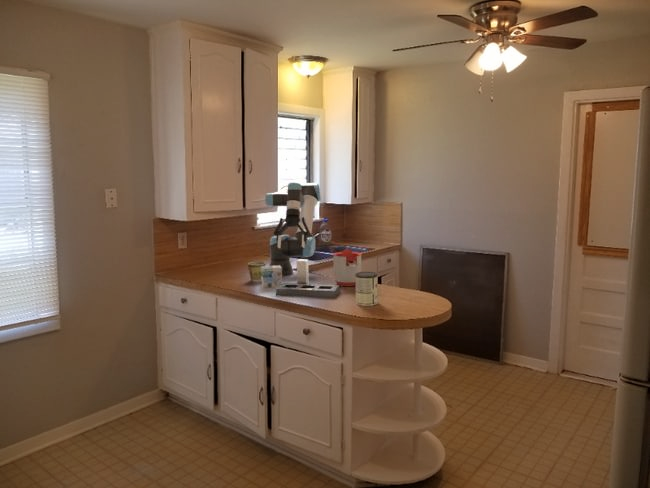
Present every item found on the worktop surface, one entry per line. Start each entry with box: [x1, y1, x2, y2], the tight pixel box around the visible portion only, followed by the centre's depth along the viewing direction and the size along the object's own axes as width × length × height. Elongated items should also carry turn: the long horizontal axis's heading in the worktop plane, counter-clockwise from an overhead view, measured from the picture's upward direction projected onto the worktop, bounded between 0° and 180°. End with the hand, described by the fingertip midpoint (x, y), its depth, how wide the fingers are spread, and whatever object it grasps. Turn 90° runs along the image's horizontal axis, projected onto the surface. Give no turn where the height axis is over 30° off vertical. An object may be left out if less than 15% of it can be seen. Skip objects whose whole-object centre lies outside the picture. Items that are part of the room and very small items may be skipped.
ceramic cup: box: [247, 261, 266, 283], centre depth 313 cm, size 13×10×10 cm
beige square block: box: [296, 258, 310, 284], centre depth 290 cm, size 5×5×15 cm
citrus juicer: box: [332, 248, 362, 287], centre depth 296 cm, size 16×17×20 cm
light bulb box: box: [260, 265, 283, 289], centre depth 296 cm, size 11×7×11 cm, turn 105°
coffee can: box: [355, 271, 379, 307], centre depth 256 cm, size 10×10×14 cm
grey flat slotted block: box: [275, 282, 341, 299], centre depth 278 cm, size 13×30×4 cm, turn 77°
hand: (290, 247), depth 295 cm, fingers open, 13 cm apart
